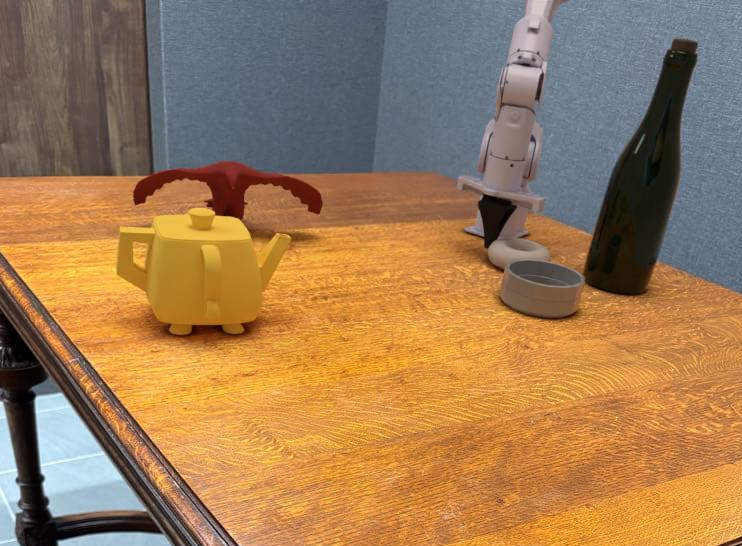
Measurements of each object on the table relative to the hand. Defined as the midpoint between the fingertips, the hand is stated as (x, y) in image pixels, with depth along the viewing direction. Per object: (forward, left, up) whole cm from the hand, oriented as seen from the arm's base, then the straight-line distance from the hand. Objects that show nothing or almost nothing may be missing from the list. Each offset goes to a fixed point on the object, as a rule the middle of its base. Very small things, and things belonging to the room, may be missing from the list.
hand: (489, 247), depth 130 cm
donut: (0, +6, -2) cm, 6 cm away
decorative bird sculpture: (+26, -32, -2) cm, 42 cm away
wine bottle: (-6, +20, -2) cm, 20 cm away
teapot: (+53, -10, -2) cm, 54 cm away
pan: (+13, +16, -1) cm, 20 cm away
